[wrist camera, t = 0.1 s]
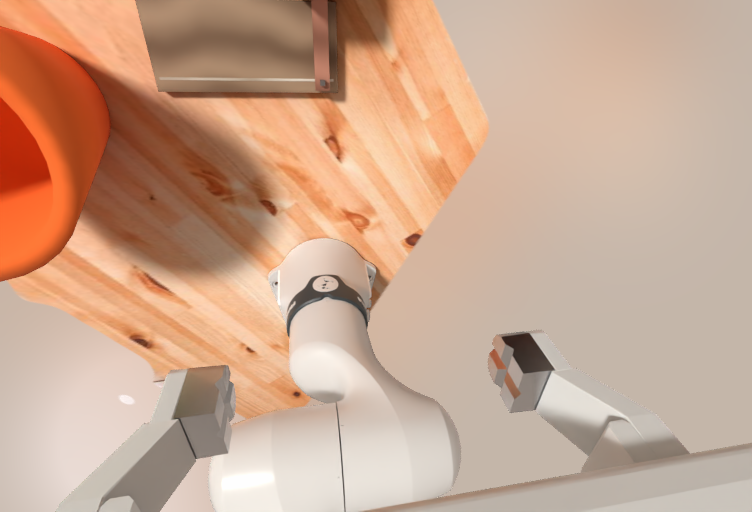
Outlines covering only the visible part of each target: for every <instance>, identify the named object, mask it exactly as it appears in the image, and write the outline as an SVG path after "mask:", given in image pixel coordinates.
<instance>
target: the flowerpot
mask: <svg viewBox="0 0 752 512" xmlns="http://www.w3.org/2000/svg"><path fill="white" fill-rule="evenodd" d="M109 135H110V116H109V110H108V107H107V105H106V102H105V99H104V96H103V95H102V93H101V91H100V90H99V88H98V86H97V84H96V83H95V82H94V80H93V79H92V78H91V77H90V75H89V74H88V73H87V72H86V70H85V69H84V68H83V67H81V66H80V65H79V64H78V63H77V62H76V61H75V60H74V59H73V58H72V57H70V56H69V55H67V54H66V53H65V52H63V51H62V50H60V49H59V48H57V47H56V46H54V45H52V44H50V43H48V42H46V41H44V40H42V39H40V38H37V37H34V36H31V35H28V34H25V33H22V32H18V31H15V30H12V29H8V28H5V27H1V26H0V282H1V281H5V280H9V279H12V278H16V277H20V276H24V275H26V274H28V273H30V272H32V271H34V270H36V269H38V268H40V267H42V266H44V265H46V264H47V263H48V262H49V261H50V260H52V259H53V258H54V257H55V256H57V255H58V254H59V253H60V252H61V251H62V249H63V248H64V247H65V245H66V244H67V242H68V241H69V239H70V238H71V236H72V235H73V232H74V229H75V227H76V224H77V221H78V219H79V216H80V213H81V211H82V208H83V205H84V203H85V200H86V197H87V195H88V192H89V189H90V187H91V184H92V181H93V179H94V176H95V173H96V171H97V168H98V166H99V163H100V160H101V158H102V155H103V152H104V150H105V147H106V144H107V141H108V138H109Z"/></svg>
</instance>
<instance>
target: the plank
mask: <svg viewBox="0 0 752 512" xmlns="http://www.w3.org/2000/svg"><path fill="white" fill-rule="evenodd" d="M135 1H136V5H137V9H138V13H139V17H140V21H141V25H142V29H143V33H144V37H145V40H146V44H147V48H148V52H149V56H150V60H151V64H152V68H153V72H154V76H155V80H156V83H157V87H158V91H159V92H294V93H338V82H337V24H336V2H328V38H329V75H330V91H316V90H315V70H314V49H313V27H312V6H311V1H300V0H135Z"/></svg>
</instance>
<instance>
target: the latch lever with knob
mask: <svg viewBox="0 0 752 512" xmlns="http://www.w3.org/2000/svg"><path fill="white" fill-rule="evenodd" d="M311 6H312V27H313V49H314V70H315V90H316V91H330V75H329V38H328V1H327V0H311Z"/></svg>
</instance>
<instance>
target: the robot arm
mask: <svg viewBox="0 0 752 512" xmlns="http://www.w3.org/2000/svg"><path fill="white" fill-rule="evenodd" d="M368 275H370V276H369V277H368ZM375 275H376V267H375V266H374V265H373V264H372V263H370V262H368V261H366V260H364V259H363V258H361V256H360V255H359V254H358V253H357V252H356V250H355V249H353V248H352V247H351V246H349V245H348V244H346V243H344V242H342V241H339V240H335V239H329V238H320V239H313V240H309V241H306V242H304V243H302V244H300V245H298V246H297V247H295V248H294V249H293V250H292V251H291V252H290V253H289V254H288V255H287V256H286V258H285V259H284V261H283V262H282V263H281V264H280V265H279V266H277V267H276V268H274V269H273V270H271V271H270V272H269V274H268V281H269V283H270V286H271V288H272V291H273V293H274V296H275V298H276V301H277V303H278V305H279V308H280V310H281V313H282V315H283V318H284V320H285V323H286V328H287V333H288V336H289V371H290V374H291V377H292V379H293V380H294V382H295V383H296V384H297V386H298V387H299V388H300V389H301V390H302V391H303V392H304V393H305V394H307V395H308V396H310V397H311V398H314V399H316V400H318V401H321V402H324V403H326V404H321V405H313V406H304V407H296V408H288V409H280V410H274V411H271V412H267V413H264V414H261V415H258V416H255V417H252V418H249V419H246V420H243V421H240V422H238V423H235V424H233V425H232V426H230V423H229V422H230V421H231V420H232V418H233V417H234V415H235V407H236V395H235V388H234V384H233V383H232V382H230V381H229V379H230V370H229V367H228V365H221V366H210V367H198V368H189V369H178V370H171V371H170V372H169V373H168V374H167V376H166V379H165V382H164V384H163V387H162V390H161V393H160V396H159V399H158V402H157V404H156V407H155V410H154V413H153V416H152V418H151V421H150V423H144V424H143V425H142V426H141V427H140V428H139V429H138V430H137V431H136V432H135V433H134V434H133V435H131V436H130V437H129V438H128V439H127V440H126V441H125V442H124V443H123V444H122V445H121V446H120V447H119V448H118V449H117V450H116V451H115V452H114V453H113V454H112V455H111V456H109V457H108V458H107V459H106V460H105V461H104V462H103V463H102V464H101V465H100V466H99V467H98V468H97V469H96V470H95V471H94V472H93V473H92V474H91V475H89V476H88V477H87V478H86V479H85V480H84V481H83V482H82V483H81V484H80V485H79V486H78V487H77V488H76V489H75V490H74V491H73V492H72V493H71V494H69V495H68V496H67V497H66V498H65V499H64V500H63V501H62V502H61V503H60V504H59V506H58V508H57V510H56V512H160V510H161V509H162V507H163V506H164V505H165V503H166V502H167V501H168V499H169V498H170V496H171V495H172V493H173V492H174V491H175V489H176V488H177V487H178V485H179V484H180V483H181V481H182V480H183V478H184V477H185V476H186V474H187V473H188V472H189V470H190V469H191V467H192V466H193V465H194V463H195V462H196V459H198V458H204V457H210V456H212V459H211V463H210V468H209V474H208V489H209V496H210V500H211V503H212V506H213V509H214V510H215V512H752V443H748V444H743V445H737V446H731V447H725V448H720V449H714V450H709V451H703V452H697V453H692V454H690V453H689V452H688V451H687V450H686V448H685V447H684V446H683V445H682V444H681V442H680V441H679V440H678V439H677V438H676V437H675V435H674V434H673V433H672V432H671V431H670V430H669V429H668V428H667V426H666V425H665V424H664V423H663V422H662V421H661V419H660V418H659V417H658V416H657V415H656V414H655V413H654V412H652V411H650V410H648V409H647V408H645V407H643V406H642V405H640V404H638V403H636V402H635V401H633V400H631V399H629V398H628V397H626V396H624V395H622V394H621V393H619V392H617V391H615V390H614V389H612V388H610V387H608V386H607V385H605V384H603V383H602V382H600V381H598V380H596V379H595V378H593V377H591V376H589V375H587V374H586V373H584V372H583V371H581V370H579V369H577V368H571V366H570V365H569V364H568V362H567V361H566V360H565V358H564V357H563V356H562V354H561V353H560V352H559V350H558V349H557V348H556V347H555V345H554V344H553V343H552V341H551V340H550V338H549V337H548V336H547V335H546V333H545V332H544V331H542V330H534V331H526V332H516V333H508V334H499V335H496V336H495V337H494V339H493V342H492V344H493V346H494V348H495V349H494V350H493V351H492V352H490V354H489V358H488V369H489V372H490V376H491V378H492V380H493V382H494V383H495V384H496V385H498V386H499V387H501V388H502V389H501V393H500V396H501V397H502V399H503V401H504V403H505V405H506V407H507V409H508V411H509V413H514V412H523V411H532V410H536V412H537V413H538V414H539V415H540V416H541V417H542V418H544V419H545V420H546V421H547V422H548V423H550V424H551V425H552V426H553V427H554V428H556V429H557V430H558V431H559V432H560V433H562V434H563V435H564V436H565V437H566V438H568V439H569V440H570V441H571V442H572V443H573V444H575V445H576V446H577V447H578V448H579V449H581V450H582V451H583V452H584V453H585V454H587V455H588V456H589V457H588V459H587V461H586V462H585V464H584V466H583V467H582V470H581V473H577V474H571V475H565V476H559V477H553V478H548V479H542V480H536V481H531V482H525V483H519V484H513V485H508V486H502V487H497V488H490V489H485V490H480V491H473V492H467V493H462V494H456V495H450V496H444V497H439V496H441V495H443V494H445V493H447V492H449V491H450V490H451V488H452V487H453V485H454V483H455V480H456V478H457V475H458V472H459V468H460V462H461V446H460V440H459V436H458V432H457V430H456V427H455V425H454V422H453V421H452V419H451V417H450V416H449V414H448V413H447V412H446V410H445V409H444V408H443V407H442V406H441V405H440V404H439V403H438V402H437V401H435V400H434V399H432V398H430V397H427V396H424V395H422V394H420V393H417V392H415V391H413V390H411V389H410V388H408V387H406V386H405V385H403V384H402V383H400V382H399V381H398V380H396V379H395V378H394V377H393V376H392V375H390V374H389V373H388V372H387V371H386V370H385V369H384V368H383V367H382V365H381V364H380V363H379V361H378V360H377V358H376V357H375V354H374V352H373V349H372V346H371V343H370V340H369V336H368V332H367V326H368V322H369V320H370V311H369V310H368V309H366V308H370V307H371V300H369V298H371V296H372V294H371V290H372V286H373V283H374V279H375ZM275 282H278V283H275ZM436 497H439V498H436Z"/></svg>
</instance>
